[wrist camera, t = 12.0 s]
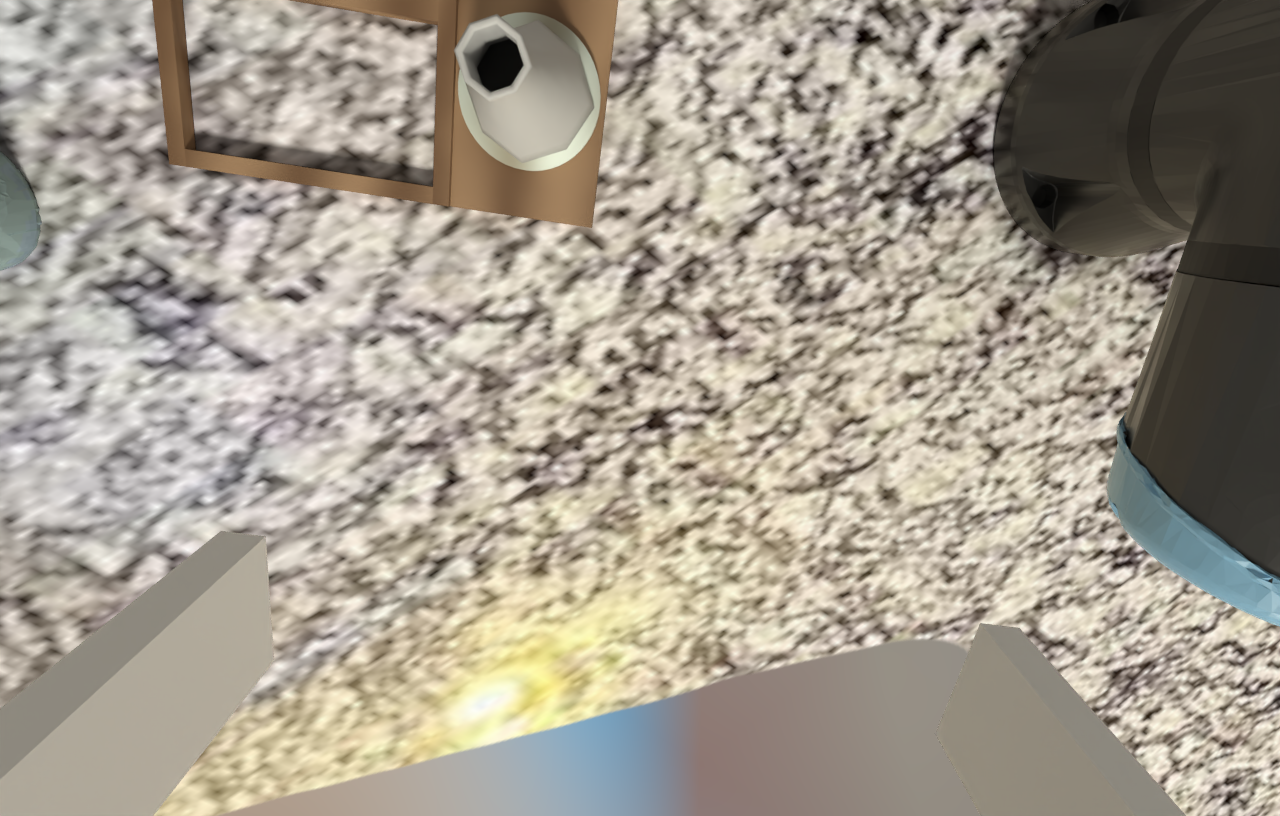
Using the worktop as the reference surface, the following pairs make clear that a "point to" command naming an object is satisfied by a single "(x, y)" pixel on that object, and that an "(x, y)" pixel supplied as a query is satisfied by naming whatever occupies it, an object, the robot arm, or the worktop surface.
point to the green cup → (16, 216)
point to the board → (437, 114)
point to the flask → (524, 86)
